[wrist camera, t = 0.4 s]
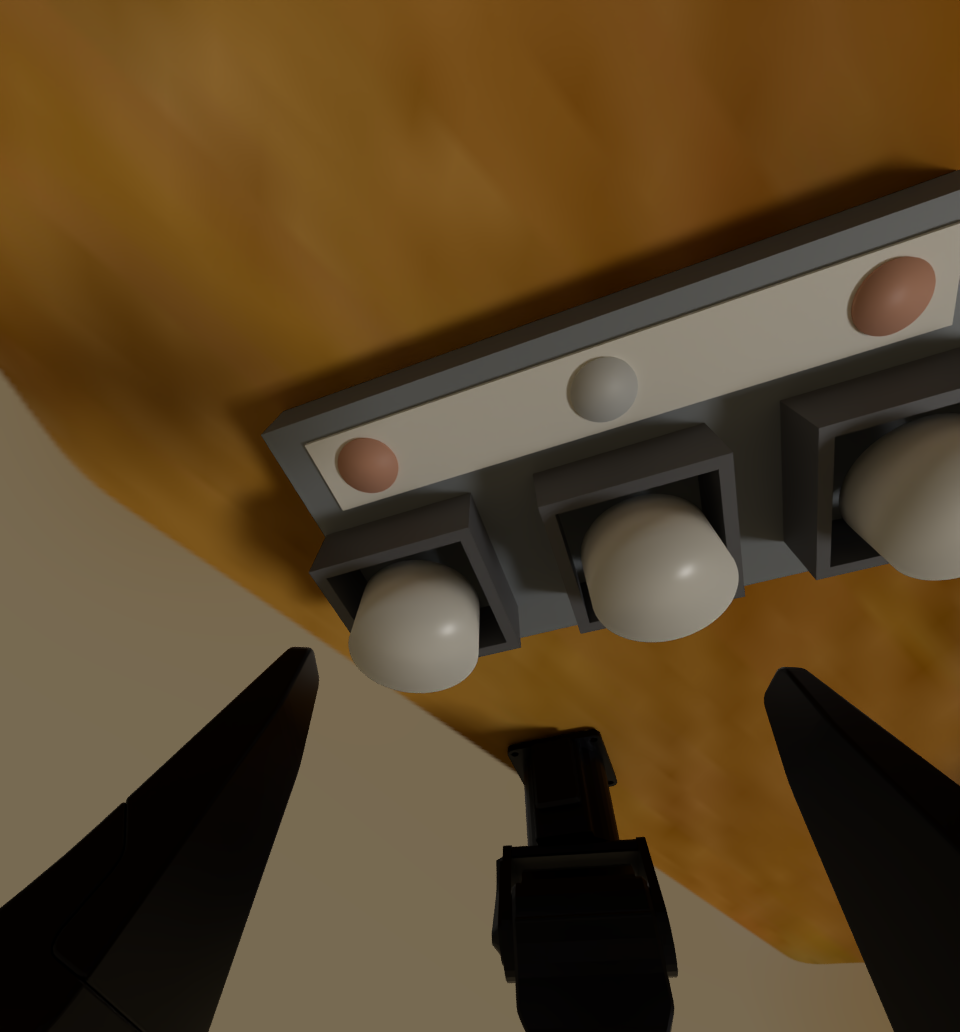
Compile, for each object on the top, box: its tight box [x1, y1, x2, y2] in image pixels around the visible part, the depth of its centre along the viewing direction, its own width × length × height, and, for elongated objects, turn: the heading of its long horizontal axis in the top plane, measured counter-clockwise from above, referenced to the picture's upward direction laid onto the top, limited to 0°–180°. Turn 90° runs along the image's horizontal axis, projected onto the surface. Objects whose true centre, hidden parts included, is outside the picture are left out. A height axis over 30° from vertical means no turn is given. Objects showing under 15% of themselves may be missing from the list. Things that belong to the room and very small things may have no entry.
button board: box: [261, 170, 960, 657], centre depth 21 cm, size 14×26×5 cm, turn 109°
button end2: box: [349, 560, 480, 693], centre depth 20 cm, size 5×5×2 cm
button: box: [839, 413, 960, 580], centre depth 17 cm, size 5×5×2 cm
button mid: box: [581, 494, 739, 642], centre depth 18 cm, size 5×5×2 cm
